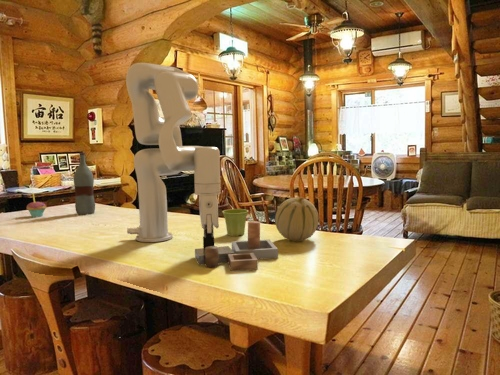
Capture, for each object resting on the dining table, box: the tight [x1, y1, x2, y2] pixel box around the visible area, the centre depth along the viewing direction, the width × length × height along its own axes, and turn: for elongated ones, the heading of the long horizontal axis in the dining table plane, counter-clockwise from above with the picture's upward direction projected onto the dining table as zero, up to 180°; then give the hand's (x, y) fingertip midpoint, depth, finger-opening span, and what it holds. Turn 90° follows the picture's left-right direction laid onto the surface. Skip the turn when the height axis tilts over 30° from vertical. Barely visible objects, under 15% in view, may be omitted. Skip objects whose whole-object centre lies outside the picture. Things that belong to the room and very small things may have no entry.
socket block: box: [228, 253, 259, 272], centre depth 110 cm, size 7×7×2 cm
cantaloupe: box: [274, 196, 320, 242], centre depth 138 cm, size 15×15×15 cm
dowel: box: [247, 220, 261, 250], centre depth 122 cm, size 4×4×9 cm
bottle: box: [73, 152, 96, 216], centre depth 202 cm, size 9×9×30 cm
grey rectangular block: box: [194, 245, 235, 266], centre depth 117 cm, size 10×8×3 cm
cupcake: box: [26, 193, 47, 218], centre depth 197 cm, size 9×8×12 cm
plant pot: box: [221, 208, 249, 237], centre depth 149 cm, size 9×9×9 cm
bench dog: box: [205, 245, 220, 269], centre depth 111 cm, size 4×4×5 cm
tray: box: [231, 239, 279, 260], centre depth 122 cm, size 12×12×3 cm
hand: (208, 249), depth 122 cm, fingers closed
